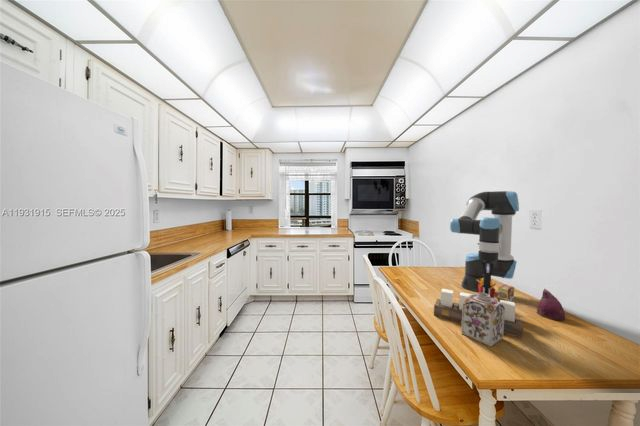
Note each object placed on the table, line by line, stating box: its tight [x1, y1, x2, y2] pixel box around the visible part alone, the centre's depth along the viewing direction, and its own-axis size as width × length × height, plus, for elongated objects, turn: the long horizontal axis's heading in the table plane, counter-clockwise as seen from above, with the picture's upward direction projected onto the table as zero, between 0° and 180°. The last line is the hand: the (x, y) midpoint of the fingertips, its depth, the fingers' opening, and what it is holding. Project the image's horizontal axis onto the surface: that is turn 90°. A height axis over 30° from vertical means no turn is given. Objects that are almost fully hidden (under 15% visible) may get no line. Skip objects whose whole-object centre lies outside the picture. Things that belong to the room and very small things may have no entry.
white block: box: [458, 291, 471, 310], centre depth 116 cm, size 5×5×7 cm
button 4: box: [500, 300, 517, 322], centre depth 107 cm, size 5×5×7 cm
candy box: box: [496, 284, 515, 302], centre depth 119 cm, size 9×4×15 cm, turn 123°
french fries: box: [476, 278, 497, 299], centre depth 136 cm, size 9×8×15 cm
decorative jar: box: [460, 292, 505, 347], centre depth 101 cm, size 12×12×18 cm
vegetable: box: [536, 288, 566, 322], centre depth 122 cm, size 10×10×15 cm
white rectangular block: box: [440, 288, 454, 308], centre depth 121 cm, size 5×5×7 cm
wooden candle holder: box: [433, 298, 524, 338], centre depth 114 cm, size 10×34×5 cm, turn 56°
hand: (485, 300), depth 112 cm, fingers closed
